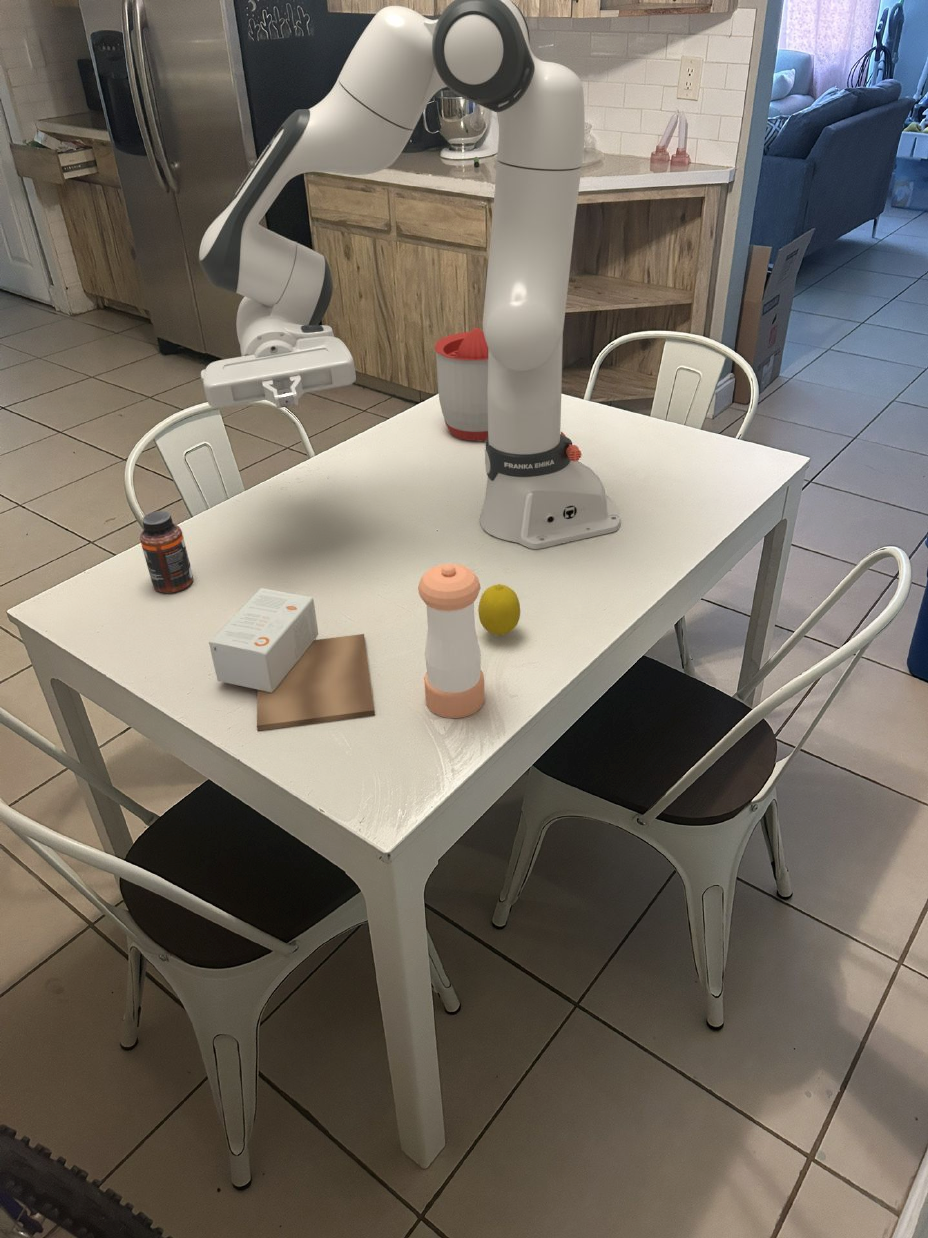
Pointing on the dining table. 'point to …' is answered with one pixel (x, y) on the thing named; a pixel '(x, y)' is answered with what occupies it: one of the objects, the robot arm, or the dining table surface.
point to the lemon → (499, 609)
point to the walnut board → (321, 686)
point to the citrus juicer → (464, 383)
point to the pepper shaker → (452, 641)
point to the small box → (264, 639)
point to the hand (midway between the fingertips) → (286, 401)
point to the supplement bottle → (165, 553)
